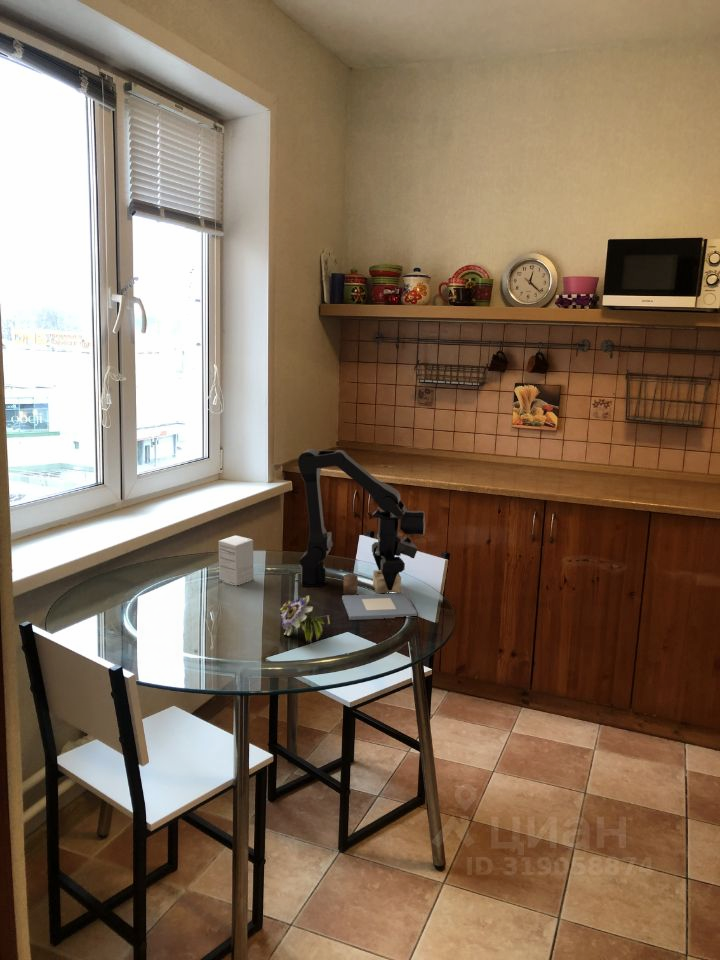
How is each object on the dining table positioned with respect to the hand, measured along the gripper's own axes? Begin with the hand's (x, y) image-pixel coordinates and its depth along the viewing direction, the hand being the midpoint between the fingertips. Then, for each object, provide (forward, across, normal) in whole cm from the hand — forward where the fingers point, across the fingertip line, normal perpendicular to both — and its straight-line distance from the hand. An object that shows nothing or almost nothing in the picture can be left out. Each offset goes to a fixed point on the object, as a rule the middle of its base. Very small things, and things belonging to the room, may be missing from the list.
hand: (386, 584), depth 225 cm
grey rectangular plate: (+1, -14, +5) cm, 15 cm away
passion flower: (+2, -29, +27) cm, 40 cm away
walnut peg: (+1, -2, +11) cm, 11 cm away
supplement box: (+2, +11, +43) cm, 44 cm away
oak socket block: (+2, 0, 0) cm, 2 cm away
